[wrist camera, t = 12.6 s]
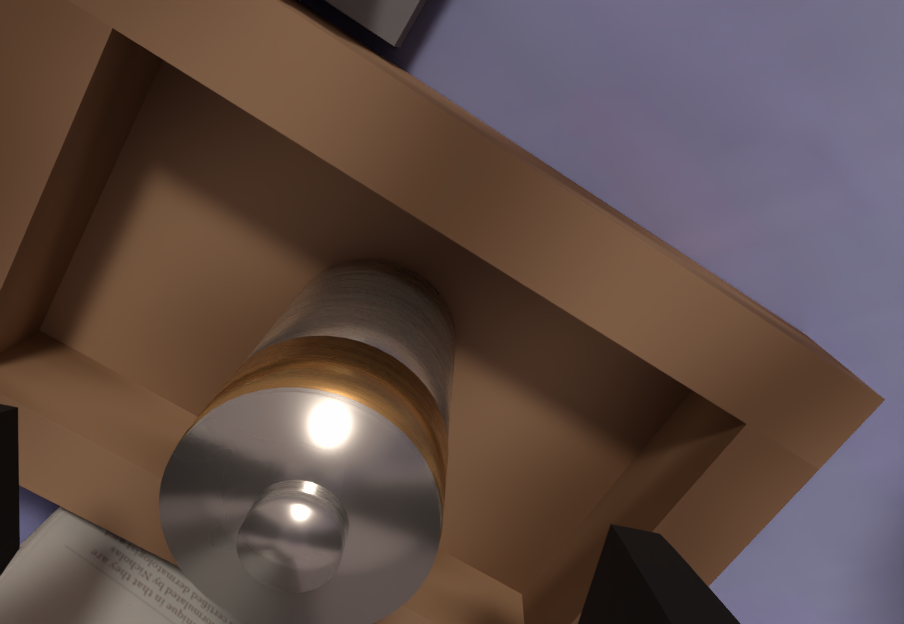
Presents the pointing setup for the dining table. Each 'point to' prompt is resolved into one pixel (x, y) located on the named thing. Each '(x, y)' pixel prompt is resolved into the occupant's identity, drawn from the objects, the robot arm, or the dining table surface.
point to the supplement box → (97, 581)
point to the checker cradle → (383, 16)
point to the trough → (379, 237)
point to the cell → (322, 456)
